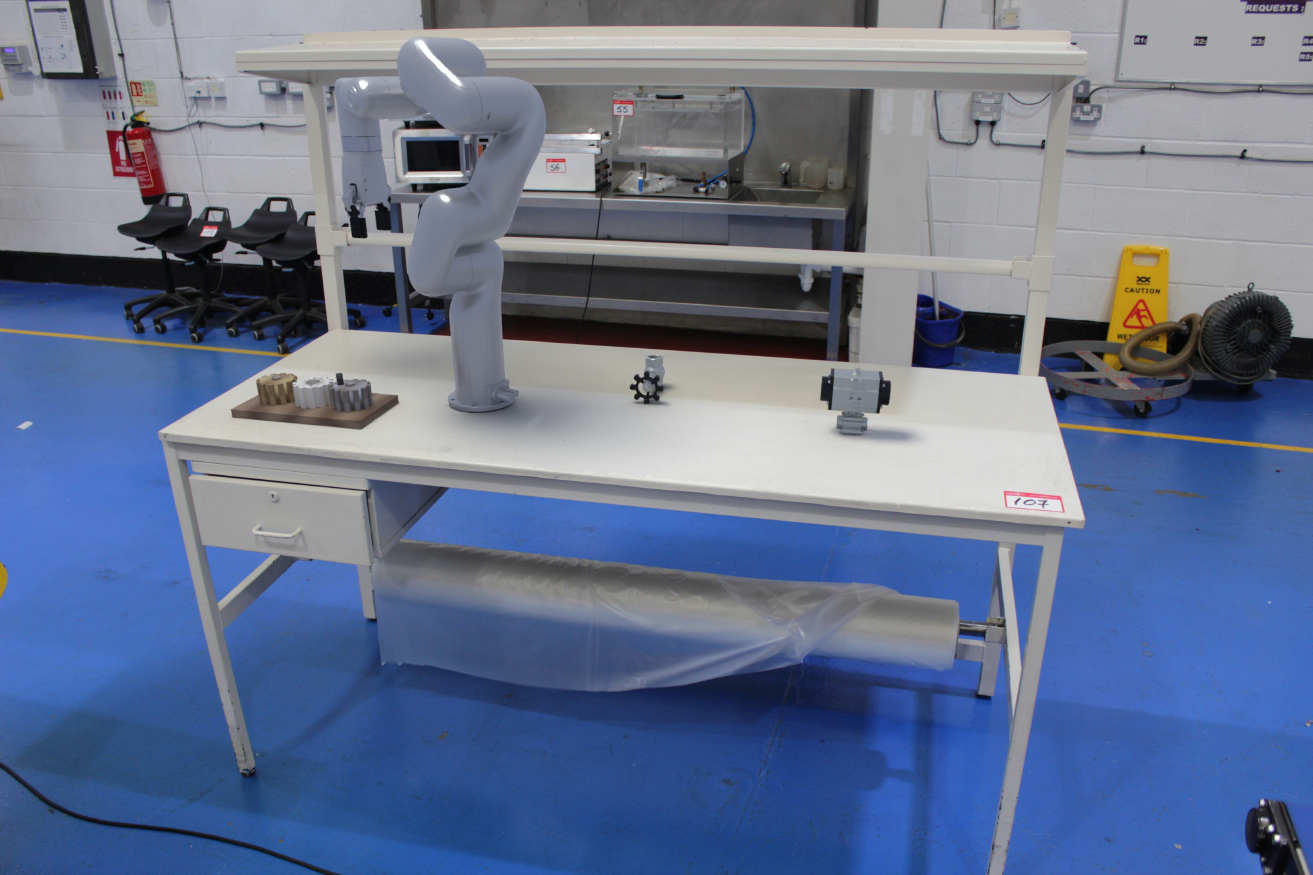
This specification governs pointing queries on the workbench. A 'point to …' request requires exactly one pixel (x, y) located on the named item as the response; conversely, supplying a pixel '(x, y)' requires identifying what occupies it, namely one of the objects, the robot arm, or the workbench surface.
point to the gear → (313, 392)
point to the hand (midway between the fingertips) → (372, 234)
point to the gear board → (347, 409)
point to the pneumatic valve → (854, 396)
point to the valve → (650, 378)
